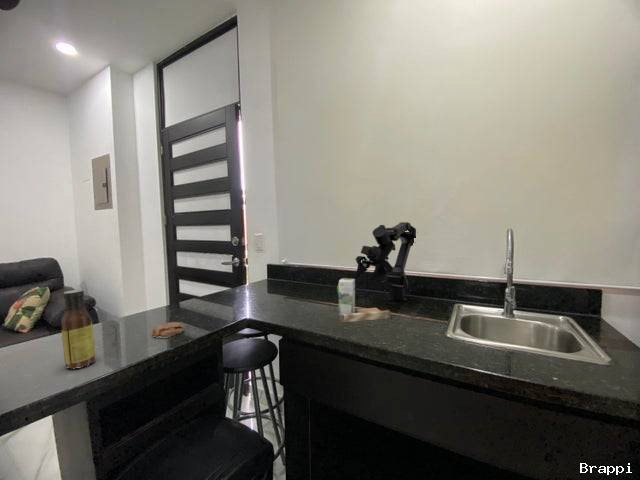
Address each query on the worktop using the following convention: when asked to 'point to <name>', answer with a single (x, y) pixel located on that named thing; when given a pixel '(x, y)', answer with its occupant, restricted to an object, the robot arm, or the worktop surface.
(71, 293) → the sauce bottle
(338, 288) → the decorative egg
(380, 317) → the straightedge
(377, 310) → the end pad
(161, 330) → the cookie
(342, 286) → the syrup box
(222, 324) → the worktop surface
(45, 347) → the worktop surface
